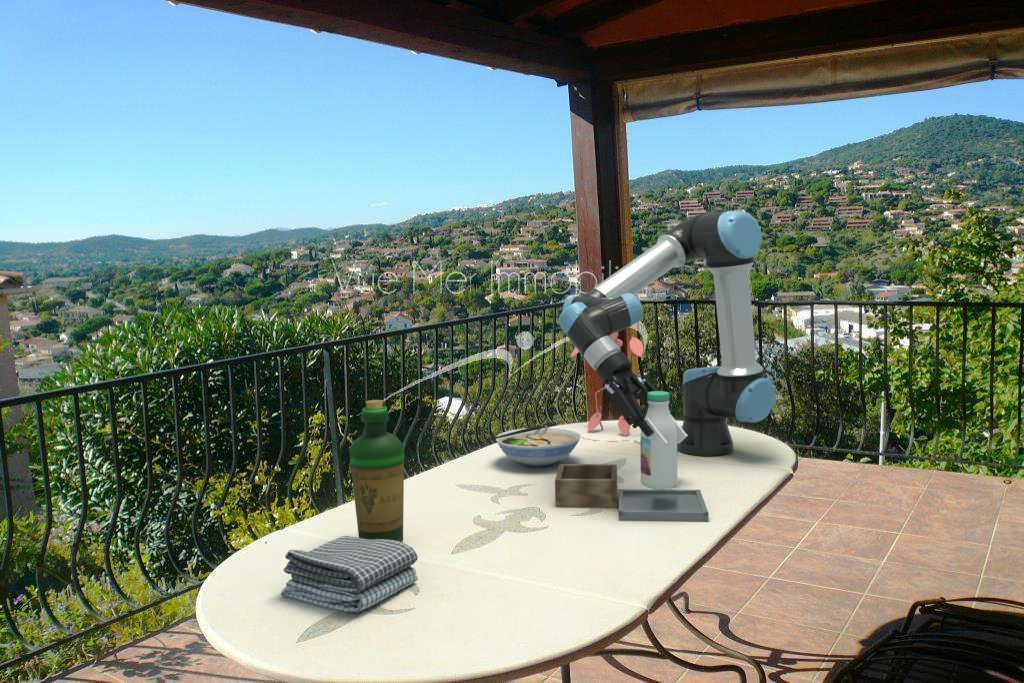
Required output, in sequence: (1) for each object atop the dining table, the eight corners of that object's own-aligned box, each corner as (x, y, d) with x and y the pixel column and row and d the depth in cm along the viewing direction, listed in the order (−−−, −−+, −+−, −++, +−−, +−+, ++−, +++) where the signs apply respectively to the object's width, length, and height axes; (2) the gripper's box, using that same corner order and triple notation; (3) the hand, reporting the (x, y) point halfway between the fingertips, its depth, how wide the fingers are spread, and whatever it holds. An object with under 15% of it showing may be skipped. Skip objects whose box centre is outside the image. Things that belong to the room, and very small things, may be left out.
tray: (700, 497, 174) (699, 489, 174) (708, 521, 159) (708, 512, 158) (618, 496, 177) (618, 489, 176) (619, 520, 161) (618, 511, 161)
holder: (617, 489, 182) (616, 464, 182) (617, 507, 169) (616, 480, 169) (559, 489, 184) (559, 464, 184) (555, 507, 171) (554, 480, 170)
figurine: (581, 426, 252) (577, 318, 248) (653, 435, 237) (651, 320, 233) (555, 436, 240) (550, 323, 236) (630, 446, 225) (626, 325, 220)
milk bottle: (679, 481, 169) (679, 389, 167) (674, 491, 162) (674, 396, 160) (644, 478, 172) (643, 388, 170) (637, 488, 165) (636, 394, 163)
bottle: (362, 557, 145) (354, 408, 142) (346, 539, 154) (339, 400, 152) (416, 546, 150) (410, 402, 147) (398, 530, 159) (391, 394, 156)
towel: (363, 620, 120) (360, 571, 119) (277, 598, 129) (274, 552, 128) (421, 583, 133) (419, 538, 132) (339, 565, 142) (337, 523, 141)
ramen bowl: (533, 481, 191) (532, 448, 190) (475, 465, 208) (473, 435, 208) (602, 461, 208) (601, 431, 207) (543, 448, 225) (542, 420, 224)
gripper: (624, 367, 182) (686, 444, 173) (571, 378, 168) (635, 463, 158) (643, 345, 178) (708, 424, 169) (590, 355, 163) (658, 441, 154)
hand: (673, 443), depth 164 cm, fingers closed on milk bottle, 7 cm apart
